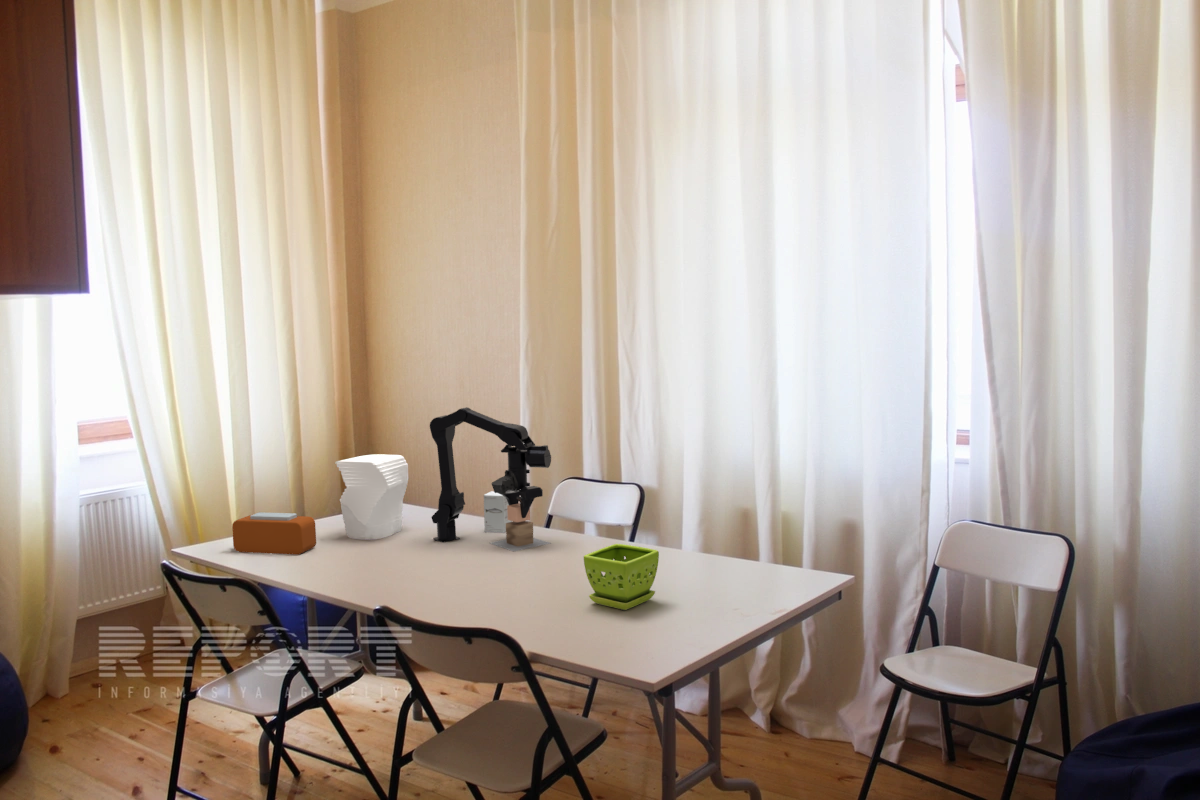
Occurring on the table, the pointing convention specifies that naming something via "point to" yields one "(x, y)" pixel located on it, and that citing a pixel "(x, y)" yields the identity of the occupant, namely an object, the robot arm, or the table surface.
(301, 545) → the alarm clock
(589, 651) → the table surface
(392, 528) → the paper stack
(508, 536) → the block
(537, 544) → the felt mat
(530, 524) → the tower top
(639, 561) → the flower pot
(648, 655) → the table surface
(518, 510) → the terracotta block
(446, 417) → the robot arm
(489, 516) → the supplement box
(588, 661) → the table surface
